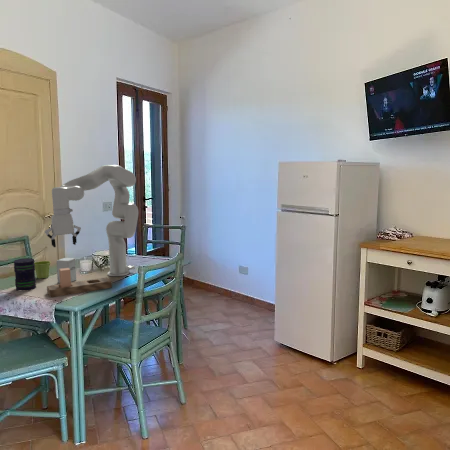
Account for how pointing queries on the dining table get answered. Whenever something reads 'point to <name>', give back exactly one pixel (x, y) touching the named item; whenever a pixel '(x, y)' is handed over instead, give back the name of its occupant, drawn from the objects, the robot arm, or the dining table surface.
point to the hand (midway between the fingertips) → (64, 245)
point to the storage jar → (25, 274)
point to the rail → (79, 287)
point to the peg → (65, 277)
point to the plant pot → (42, 269)
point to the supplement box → (67, 264)
